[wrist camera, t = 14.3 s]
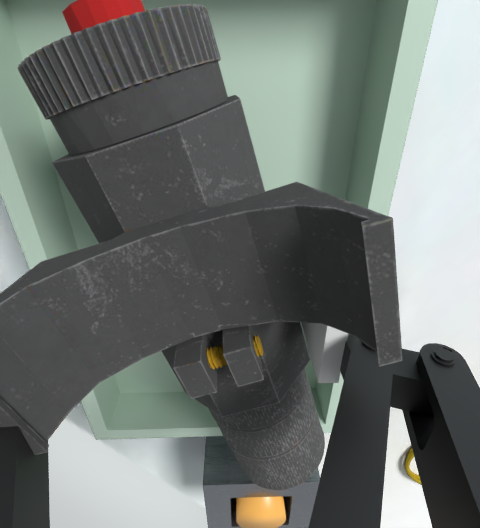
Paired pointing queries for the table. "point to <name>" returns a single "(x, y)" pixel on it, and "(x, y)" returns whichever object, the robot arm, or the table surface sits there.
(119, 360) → the laser sight
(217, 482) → the grey square holder
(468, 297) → the table surface
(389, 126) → the tray
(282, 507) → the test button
